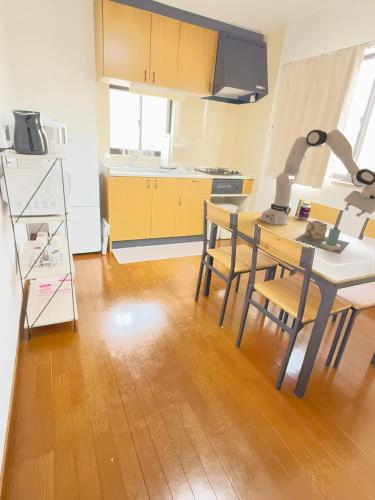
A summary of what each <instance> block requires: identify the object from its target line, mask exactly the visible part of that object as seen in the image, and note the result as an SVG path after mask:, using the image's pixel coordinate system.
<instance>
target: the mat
mask: <svg viewBox="0 0 375 500" xmlns="http://www.w3.org/2000/svg"><path fill="white" fill-rule="evenodd" d="M327 239H328V236H326V235H325V237H324V238H320V239H313V238H311V237H309V236H307V235H305V232H304V233H303V234H301V235H299V236H298V237H296V238H295V239H294V240H296V241H300V242H302V243H301V244H303V243H306V244H305V245H307V244H309V245H308V246H310V245H312V246H311V247H314V246H315V247H314V248H318V249H322V250H325V251H329V252H333V253H335V254H338V255H340V254H341V253H342V252H343V251H344V250H345V249H346V248H347V247H348V245H349V244H350V242H349V241H344V240H340V239H338V241H337V244H338V245H341V249H340V250H332V251H330V250H328V249H326V248H324V247H322V246H320V245H321V242H327ZM296 241H295V242H296ZM300 242H299V243H300Z"/></svg>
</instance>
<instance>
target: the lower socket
mask: <svg viewBox="0 0 375 500" xmlns="http://www.w3.org/2000/svg"><path fill="white" fill-rule="evenodd" d="M320 246H322V247H324V248H326V249H328V250H330V251H329V252H331V251H332V250H340V249H341V245H338V244H336V246H330V245H328V244H326V242H321V245H320ZM328 250H327V251H328Z"/></svg>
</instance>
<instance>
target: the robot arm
mask: <svg viewBox="0 0 375 500" xmlns="http://www.w3.org/2000/svg"><path fill="white" fill-rule="evenodd" d="M325 145H327V146H328V147H329V149H330V150H331V152H332V153H333V154H334V156H335V157H336V158H338V160H339V161H340V162H341V163H342V164H343V165H344V167H345V169H346V170H347V171H348V173H349V174H350V177H351V182H352V185H353V186H354V187H358V188H362V189H361V190H360V191H358V190H352V191H351V192H350V193H349V194H348V195H346V196H345V198H344V199H343V200H344V202H345V203H346V205H345V207H344V211H349V210H350V209H349V206H352V207H354V208H356V209H358V210H360V212H359V213H358V212H357V214H355V216H356V217H358V218H360V217H361V216H363V215H364V214H368V215H370V214H373V213H374V212H375V170H374V169H373V170H372V169H369V168H362V169H361V168H360V166H359V165H358V163H357V162H356V160H355V159H354V146H353V144H352V142H351V140H350V139H349V138H348V137H347V135H346V134H345V133H344V132H343V131H341V129H339V128H337V127H336V128H333V129H331V130H329V131H325V130H323V129H318V128H317V129H312V130H311V131H310V132H308V134H307V135H306V136H299V137H297V138H296V140H295V141H294V143H293V144H292V146H291V149H290V151H289V153H288V156H287V158H286V160H285V165H284V169H283V172H281V173H279V174H278V175H277V176H276V178H275V179H276V180H275V183H276V184H275V185H276V186H275V196H274V201H273V203H271V204H270V207H269V208H267V210H266V209H265V210H264V211H263V212H262V214H261V216H258V218H257V220H258V219H259V220H258V221H261V220H262V222H264V221H265V222H264V223H268V224H270V225H273V226H274V225H275V226H277V225H278V226H285V225H288V219H287V218H288V217H287V216H288V215H287V213H288V210H289V208H290V203H291V197H292V194H291V193H292V186H293V185H294V184H295V183H296V181H297V179H298V177H299V173H300V170H301V167H302V164H303V162H304V159H305V158H306V156H307V153H308V151H309V150H310V148H320V147H323V146H325Z"/></svg>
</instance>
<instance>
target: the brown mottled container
mask: <svg viewBox="0 0 375 500" xmlns="http://www.w3.org/2000/svg"><path fill="white" fill-rule="evenodd" d="M327 230H328V224H327V223H325V222H323V221H320V220H309V221H308V223H306V227H305V230H304V233H305V235H307V236H309V237H311V238H313V239H320V238H324V237H325V236H326V234H327V233H326V232H327Z"/></svg>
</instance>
